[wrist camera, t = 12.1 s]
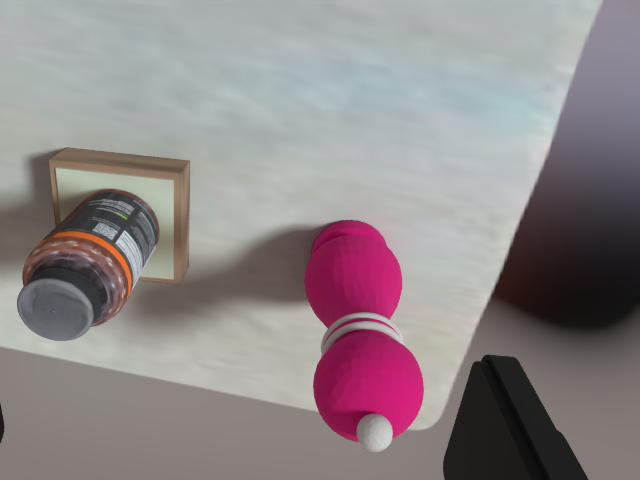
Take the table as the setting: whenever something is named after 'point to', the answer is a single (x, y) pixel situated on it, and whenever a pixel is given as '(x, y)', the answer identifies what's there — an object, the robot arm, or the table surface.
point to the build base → (141, 180)
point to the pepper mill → (361, 337)
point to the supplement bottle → (87, 265)
